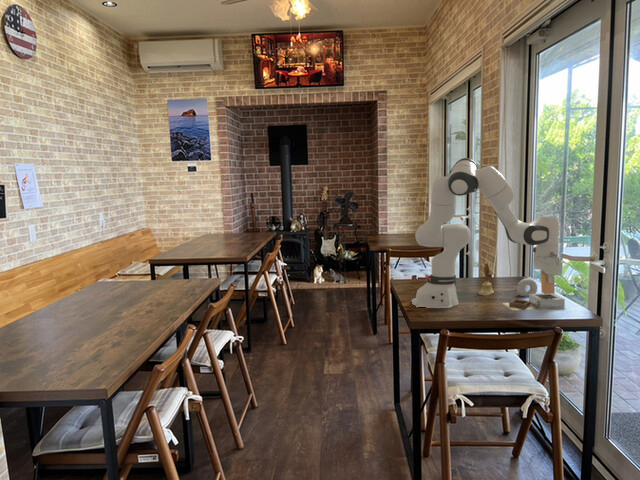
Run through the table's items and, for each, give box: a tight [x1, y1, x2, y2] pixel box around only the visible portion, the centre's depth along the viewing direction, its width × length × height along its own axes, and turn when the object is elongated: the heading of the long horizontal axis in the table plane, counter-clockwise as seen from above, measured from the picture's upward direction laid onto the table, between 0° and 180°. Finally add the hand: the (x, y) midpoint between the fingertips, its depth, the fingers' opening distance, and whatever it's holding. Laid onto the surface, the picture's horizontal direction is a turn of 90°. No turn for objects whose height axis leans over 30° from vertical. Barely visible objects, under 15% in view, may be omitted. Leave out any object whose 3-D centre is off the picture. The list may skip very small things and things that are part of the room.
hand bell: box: [478, 263, 495, 297], centre depth 240 cm, size 8×8×16 cm
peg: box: [540, 273, 555, 294], centre depth 209 cm, size 4×4×8 cm
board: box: [501, 302, 563, 312], centre depth 212 cm, size 24×12×2 cm, turn 89°
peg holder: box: [508, 298, 530, 309], centre depth 212 cm, size 7×7×2 cm
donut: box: [516, 277, 538, 297], centre depth 229 cm, size 10×4×10 cm, turn 93°
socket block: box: [528, 292, 566, 310], centre depth 211 cm, size 11×11×4 cm
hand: (546, 281), depth 209 cm, fingers closed on peg, 4 cm apart
